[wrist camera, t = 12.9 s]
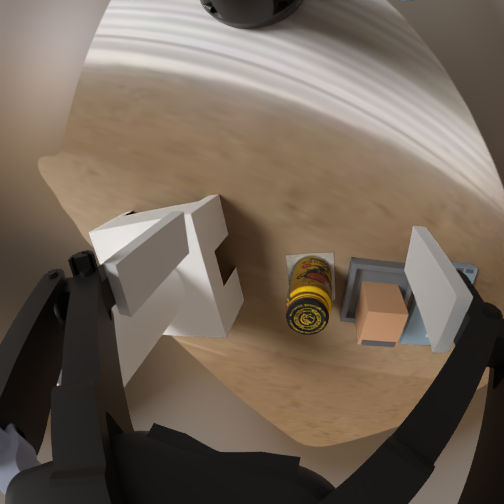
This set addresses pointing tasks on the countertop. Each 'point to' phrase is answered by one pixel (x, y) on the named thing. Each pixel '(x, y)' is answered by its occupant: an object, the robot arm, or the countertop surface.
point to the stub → (380, 314)
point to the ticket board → (414, 325)
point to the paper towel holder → (174, 283)
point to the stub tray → (372, 273)
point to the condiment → (310, 291)
